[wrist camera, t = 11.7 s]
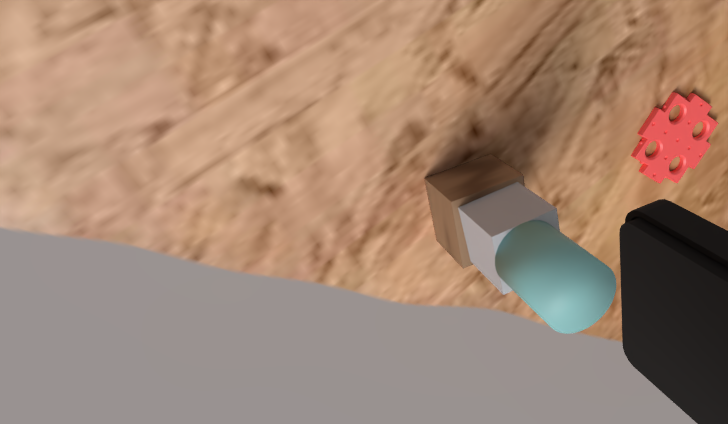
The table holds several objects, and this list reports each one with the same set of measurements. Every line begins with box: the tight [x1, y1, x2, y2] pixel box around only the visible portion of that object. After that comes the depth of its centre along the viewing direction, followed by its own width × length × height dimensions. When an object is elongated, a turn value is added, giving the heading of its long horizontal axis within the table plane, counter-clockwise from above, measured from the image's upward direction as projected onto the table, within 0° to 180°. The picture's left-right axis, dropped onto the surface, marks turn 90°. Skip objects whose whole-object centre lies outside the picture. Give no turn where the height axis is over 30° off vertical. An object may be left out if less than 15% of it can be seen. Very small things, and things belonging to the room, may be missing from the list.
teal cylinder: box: [495, 220, 616, 334], centre depth 39 cm, size 5×5×6 cm
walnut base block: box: [424, 154, 525, 268], centre depth 48 cm, size 6×6×5 cm
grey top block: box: [458, 182, 560, 295], centre depth 44 cm, size 5×5×5 cm
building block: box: [631, 92, 718, 183], centre depth 55 cm, size 1×8×8 cm
